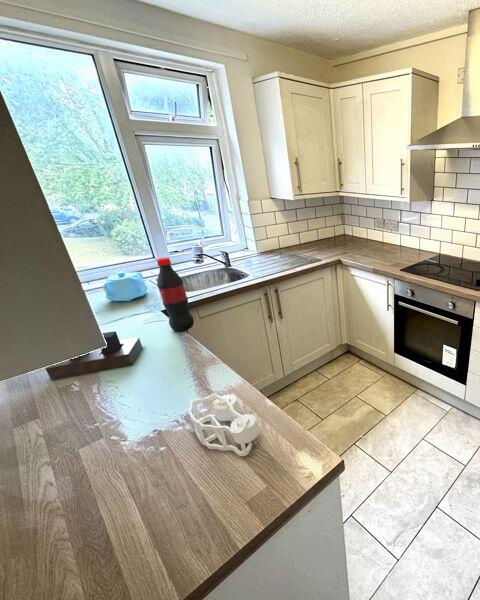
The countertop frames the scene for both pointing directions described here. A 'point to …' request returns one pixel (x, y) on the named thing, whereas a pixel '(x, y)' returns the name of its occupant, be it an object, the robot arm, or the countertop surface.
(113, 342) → the black upright block
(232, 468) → the countertop surface
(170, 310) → the cola bottle
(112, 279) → the decorative pot
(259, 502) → the countertop surface
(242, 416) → the skeletal toy car
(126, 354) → the walnut base
